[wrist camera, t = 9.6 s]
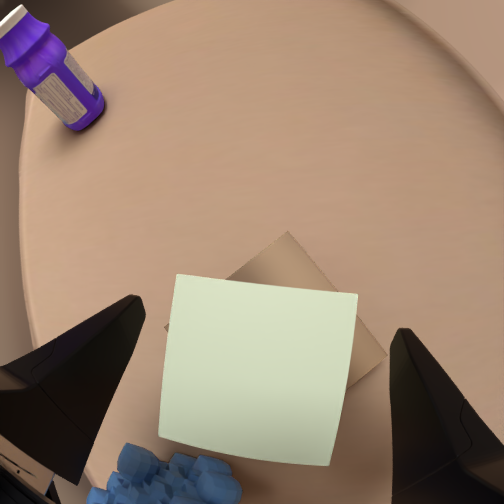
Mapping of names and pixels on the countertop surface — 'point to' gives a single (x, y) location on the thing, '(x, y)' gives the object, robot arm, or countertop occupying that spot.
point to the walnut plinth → (310, 277)
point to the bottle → (49, 69)
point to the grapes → (167, 480)
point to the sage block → (256, 369)
